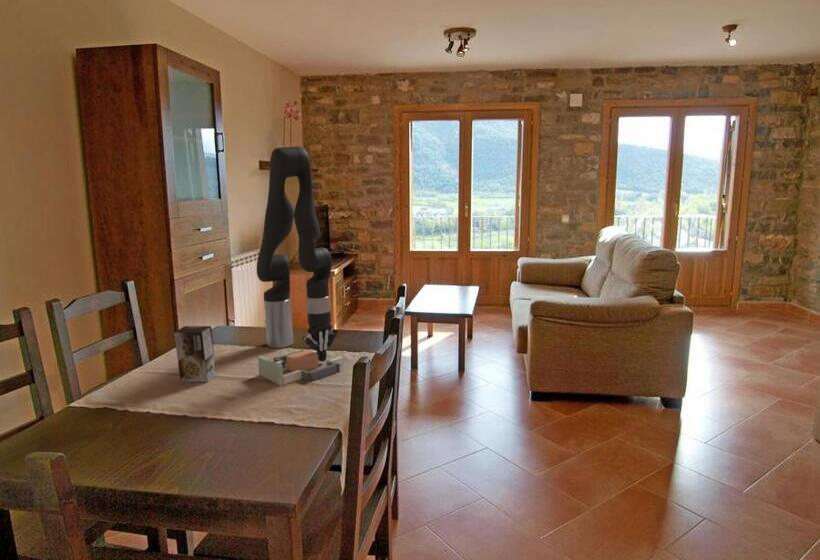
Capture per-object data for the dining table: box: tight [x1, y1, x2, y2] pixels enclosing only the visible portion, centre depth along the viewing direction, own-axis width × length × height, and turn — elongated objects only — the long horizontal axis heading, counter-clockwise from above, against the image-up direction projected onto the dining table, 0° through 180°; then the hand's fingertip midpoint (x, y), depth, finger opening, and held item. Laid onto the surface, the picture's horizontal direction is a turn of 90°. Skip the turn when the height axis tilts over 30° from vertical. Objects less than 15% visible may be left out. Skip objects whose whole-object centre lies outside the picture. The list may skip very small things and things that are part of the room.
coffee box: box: [173, 325, 217, 383], centre depth 164 cm, size 9×6×16 cm
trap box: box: [257, 349, 345, 387], centre depth 170 cm, size 20×24×6 cm
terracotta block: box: [286, 349, 320, 372], centre depth 172 cm, size 6×8×4 cm
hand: (322, 360), depth 175 cm, fingers closed
